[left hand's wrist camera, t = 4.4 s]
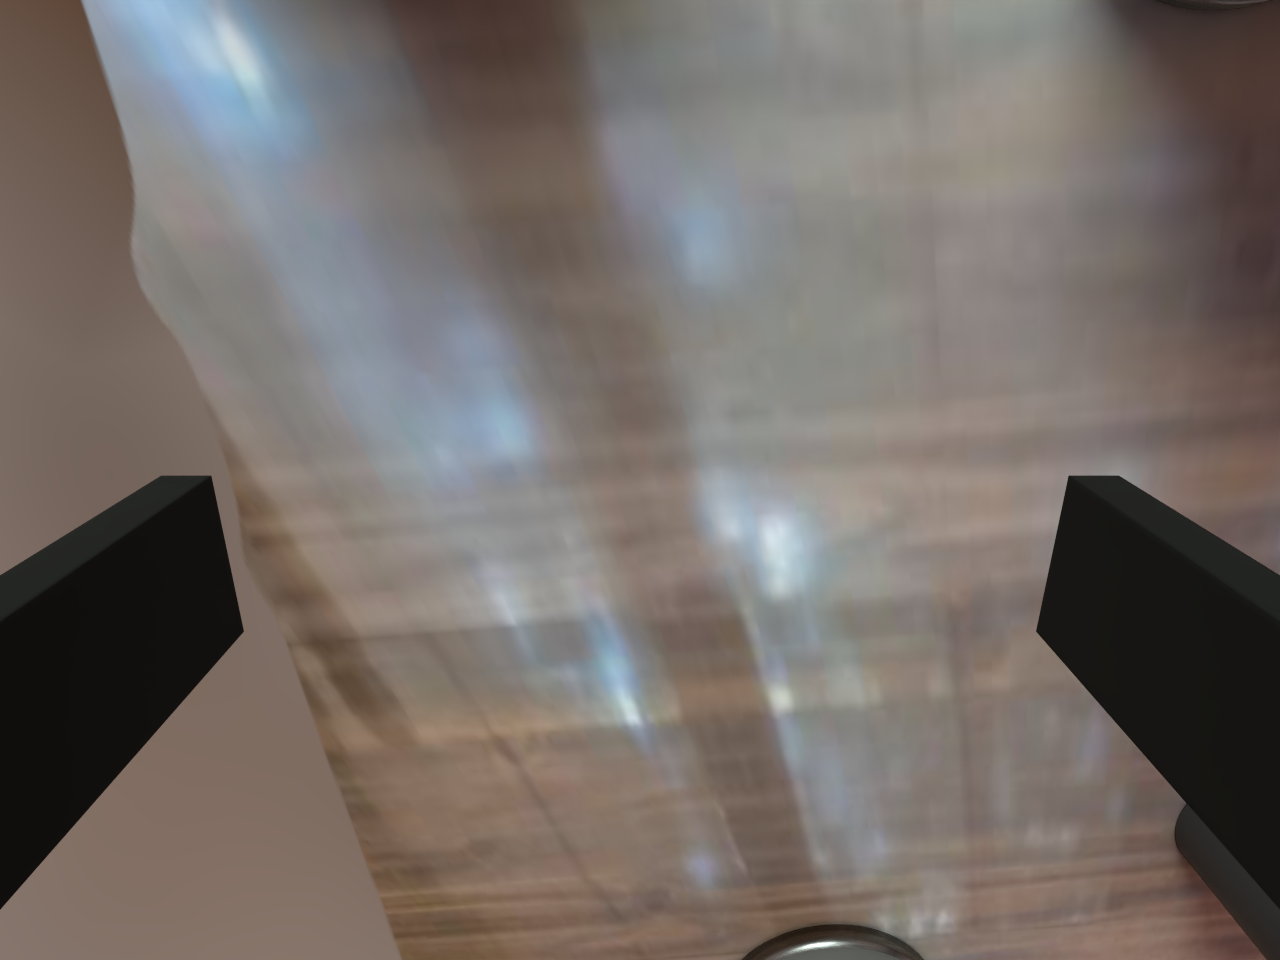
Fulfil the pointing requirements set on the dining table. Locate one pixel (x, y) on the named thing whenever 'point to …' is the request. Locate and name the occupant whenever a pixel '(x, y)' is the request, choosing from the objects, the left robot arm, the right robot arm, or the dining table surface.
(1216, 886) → the jar
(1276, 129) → the dining table surface
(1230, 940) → the dining table surface
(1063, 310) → the dining table surface
